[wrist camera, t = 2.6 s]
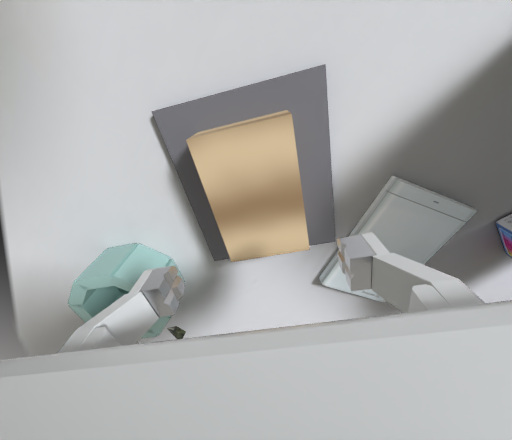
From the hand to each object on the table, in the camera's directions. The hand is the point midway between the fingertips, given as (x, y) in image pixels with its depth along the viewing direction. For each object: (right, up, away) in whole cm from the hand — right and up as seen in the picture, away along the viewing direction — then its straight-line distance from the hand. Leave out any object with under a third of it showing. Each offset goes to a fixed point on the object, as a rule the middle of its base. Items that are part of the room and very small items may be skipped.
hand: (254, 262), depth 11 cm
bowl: (-13, -4, +14) cm, 19 cm away
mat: (0, +5, +8) cm, 9 cm away
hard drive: (+13, 0, +11) cm, 17 cm away
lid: (0, +5, +7) cm, 9 cm away
